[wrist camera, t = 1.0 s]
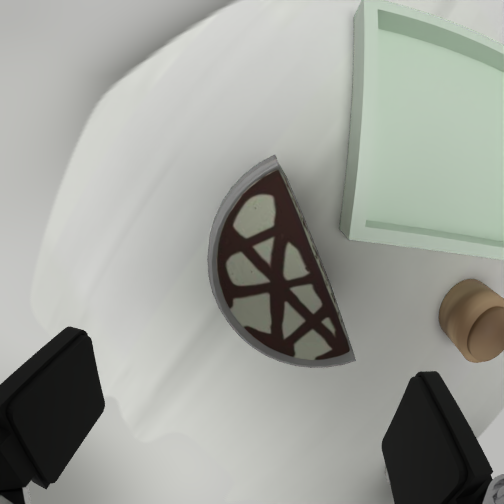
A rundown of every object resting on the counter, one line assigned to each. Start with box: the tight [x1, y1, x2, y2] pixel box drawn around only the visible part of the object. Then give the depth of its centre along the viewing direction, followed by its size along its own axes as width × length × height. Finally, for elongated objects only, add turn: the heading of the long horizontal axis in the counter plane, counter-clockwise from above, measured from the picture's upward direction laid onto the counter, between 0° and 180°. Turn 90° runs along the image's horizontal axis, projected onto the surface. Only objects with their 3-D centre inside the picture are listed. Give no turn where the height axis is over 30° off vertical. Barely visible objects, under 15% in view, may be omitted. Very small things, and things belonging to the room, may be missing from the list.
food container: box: [208, 155, 356, 368], centre depth 21 cm, size 12×6×10 cm, turn 24°
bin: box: [339, 0, 504, 260], centre depth 19 cm, size 18×18×4 cm
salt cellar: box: [439, 279, 504, 363], centre depth 22 cm, size 6×6×6 cm
